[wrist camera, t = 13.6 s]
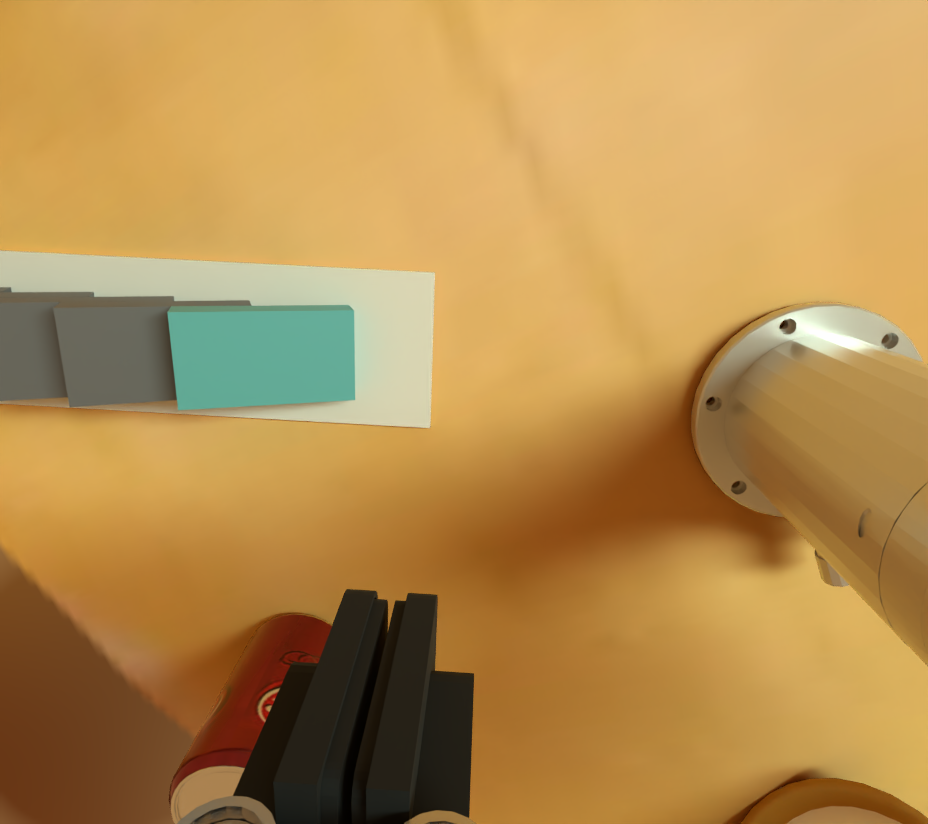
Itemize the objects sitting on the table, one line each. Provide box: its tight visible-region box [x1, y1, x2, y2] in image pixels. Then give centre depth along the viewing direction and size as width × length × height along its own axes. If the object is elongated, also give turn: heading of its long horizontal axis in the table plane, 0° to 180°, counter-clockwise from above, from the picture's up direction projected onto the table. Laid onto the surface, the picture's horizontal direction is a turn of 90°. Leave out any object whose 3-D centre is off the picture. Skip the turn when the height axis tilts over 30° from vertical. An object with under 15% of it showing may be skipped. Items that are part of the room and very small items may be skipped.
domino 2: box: [53, 300, 252, 407], centre depth 33 cm, size 2×5×9 cm
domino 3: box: [167, 305, 355, 410], centre depth 33 cm, size 2×5×9 cm
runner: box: [0, 250, 435, 428], centre depth 35 cm, size 30×9×1 cm, turn 87°
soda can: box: [169, 614, 332, 824], centre depth 36 cm, size 7×7×12 cm
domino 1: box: [0, 296, 174, 401], centre depth 33 cm, size 2×5×9 cm
